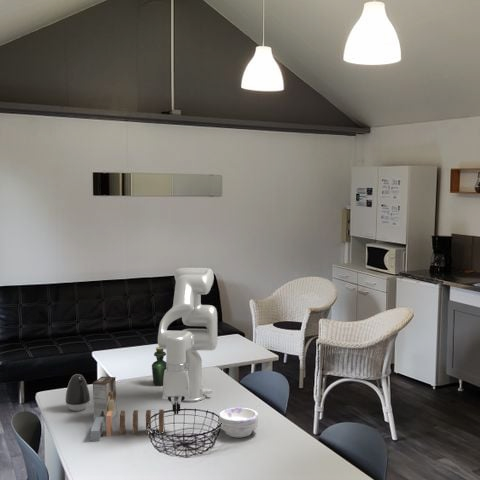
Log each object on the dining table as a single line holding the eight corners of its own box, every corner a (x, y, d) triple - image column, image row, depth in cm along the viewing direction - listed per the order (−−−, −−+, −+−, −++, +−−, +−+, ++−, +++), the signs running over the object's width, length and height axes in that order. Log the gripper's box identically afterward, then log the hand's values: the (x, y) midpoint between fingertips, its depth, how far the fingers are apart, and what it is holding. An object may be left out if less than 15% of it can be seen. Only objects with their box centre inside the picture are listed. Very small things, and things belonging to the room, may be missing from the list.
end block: (104, 426, 242) (103, 416, 242) (98, 441, 228) (98, 430, 228) (96, 426, 242) (96, 417, 242) (90, 441, 228) (90, 431, 228)
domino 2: (125, 430, 238) (125, 410, 238) (124, 435, 234) (123, 415, 233) (121, 430, 238) (120, 410, 238) (119, 435, 233) (119, 415, 233)
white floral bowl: (238, 422, 247) (238, 403, 246) (266, 433, 236) (266, 413, 235) (210, 433, 236) (210, 413, 235) (238, 444, 225) (238, 424, 224)
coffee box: (102, 412, 257) (101, 375, 256) (116, 413, 256) (116, 376, 254) (93, 420, 248) (92, 382, 247) (107, 422, 247) (107, 383, 246)
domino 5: (163, 429, 240) (163, 409, 239) (163, 434, 235) (162, 414, 234) (159, 429, 240) (159, 409, 239) (159, 434, 235) (158, 414, 234)
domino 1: (112, 430, 238) (112, 410, 237) (110, 435, 233) (110, 415, 232) (108, 430, 238) (107, 411, 237) (106, 436, 233) (106, 415, 232)
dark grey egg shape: (72, 415, 255) (71, 379, 253) (61, 408, 262) (60, 374, 261) (94, 409, 261) (93, 374, 260) (83, 402, 269) (82, 369, 268)
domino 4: (150, 429, 239) (150, 409, 239) (150, 434, 234) (149, 414, 234) (146, 429, 239) (146, 409, 238) (146, 434, 234) (145, 414, 234)
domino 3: (138, 429, 239) (137, 410, 238) (137, 435, 234) (136, 414, 233) (134, 430, 239) (133, 410, 238) (132, 435, 234) (132, 415, 233)
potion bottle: (161, 388, 289) (160, 351, 287) (148, 385, 293) (147, 348, 292) (172, 383, 296) (171, 347, 294) (159, 380, 300) (158, 345, 299)
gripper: (195, 363, 240) (195, 409, 241) (157, 364, 238) (157, 410, 240) (195, 369, 232) (195, 416, 234) (156, 370, 231) (156, 417, 232)
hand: (176, 413), depth 237 cm, fingers closed
